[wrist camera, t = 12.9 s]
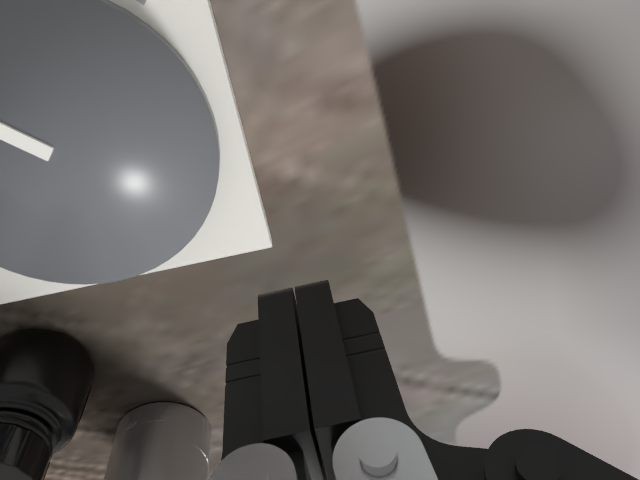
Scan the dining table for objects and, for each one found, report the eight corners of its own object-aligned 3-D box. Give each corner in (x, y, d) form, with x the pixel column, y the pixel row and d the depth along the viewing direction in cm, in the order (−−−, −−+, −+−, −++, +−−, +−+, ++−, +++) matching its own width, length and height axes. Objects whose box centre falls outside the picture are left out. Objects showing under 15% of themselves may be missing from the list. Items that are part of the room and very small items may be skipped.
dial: (274, 99, 34) (282, 146, 26) (147, 308, 41) (125, 389, 34) (-60, -105, 26) (-178, -118, 19) (-141, 197, 34) (-248, 271, 26)
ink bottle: (-2, 401, 47) (-70, 533, 37) (-32, 328, 42) (-120, 455, 32) (108, 394, 48) (72, 519, 38) (91, 323, 43) (44, 443, 33)
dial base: (271, 237, 41) (272, 248, 40) (-9, 296, 41) (-19, 309, 39) (189, -78, 29) (186, -79, 28) (-206, 0, 29) (-230, 4, 27)
